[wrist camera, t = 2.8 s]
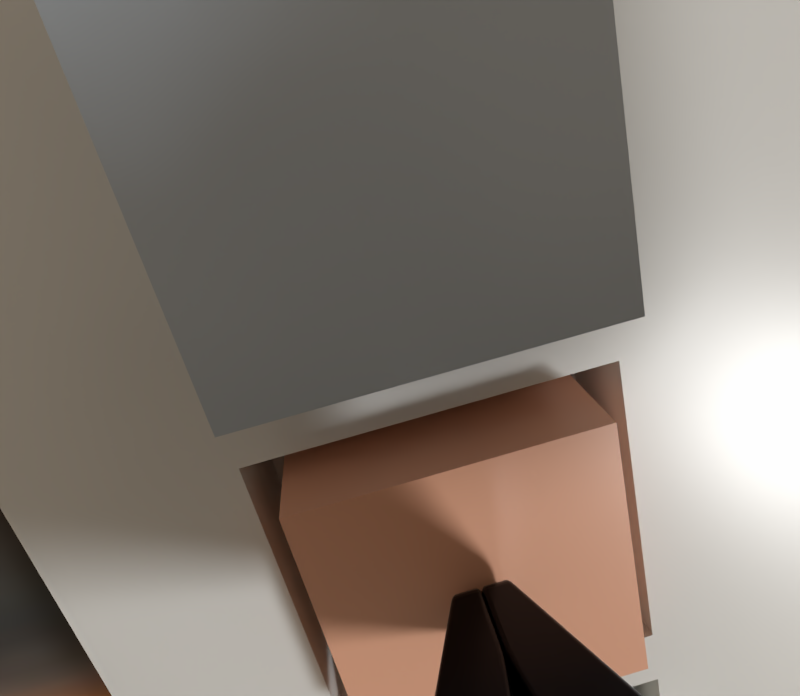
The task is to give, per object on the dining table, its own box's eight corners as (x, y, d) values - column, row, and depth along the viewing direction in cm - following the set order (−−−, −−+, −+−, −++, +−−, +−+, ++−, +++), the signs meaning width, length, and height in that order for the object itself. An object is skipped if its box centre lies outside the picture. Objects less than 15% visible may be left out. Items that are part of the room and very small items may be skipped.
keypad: (705, 796, 21) (817, 991, 16) (359, 903, 21) (372, 1134, 16) (616, -182, 11) (843, -402, 6) (-64, -9, 10) (-363, -104, 6)
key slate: (557, 263, 9) (645, 316, 6) (241, 350, 9) (214, 437, 6) (499, -122, 7) (589, -235, 5) (103, -21, 7) (-2, -85, 5)
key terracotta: (585, 563, 12) (648, 668, 10) (359, 629, 12) (370, 751, 10) (549, 354, 11) (616, 422, 8) (286, 428, 10) (278, 520, 8)
